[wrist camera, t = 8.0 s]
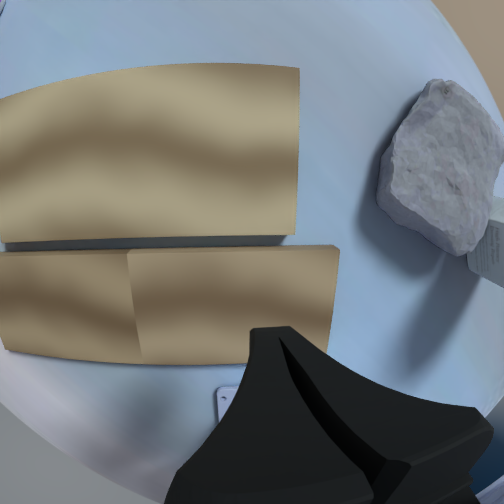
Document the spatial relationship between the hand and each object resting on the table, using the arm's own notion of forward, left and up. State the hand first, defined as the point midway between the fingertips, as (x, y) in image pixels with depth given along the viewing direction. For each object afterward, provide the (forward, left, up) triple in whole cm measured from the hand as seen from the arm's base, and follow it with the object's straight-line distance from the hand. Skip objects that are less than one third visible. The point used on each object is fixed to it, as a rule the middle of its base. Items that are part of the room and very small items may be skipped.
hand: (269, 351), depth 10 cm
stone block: (+7, -14, -10) cm, 19 cm away
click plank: (+7, +7, -10) cm, 14 cm away
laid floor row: (-3, +7, -10) cm, 12 cm away
